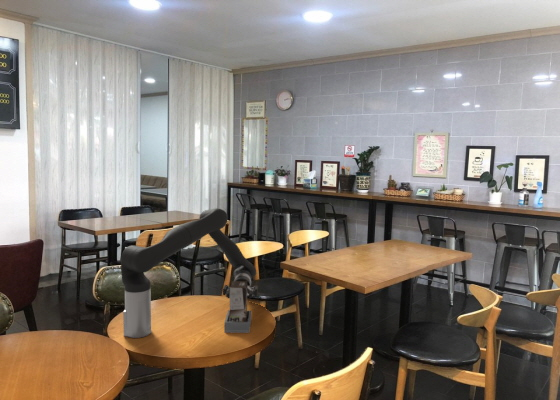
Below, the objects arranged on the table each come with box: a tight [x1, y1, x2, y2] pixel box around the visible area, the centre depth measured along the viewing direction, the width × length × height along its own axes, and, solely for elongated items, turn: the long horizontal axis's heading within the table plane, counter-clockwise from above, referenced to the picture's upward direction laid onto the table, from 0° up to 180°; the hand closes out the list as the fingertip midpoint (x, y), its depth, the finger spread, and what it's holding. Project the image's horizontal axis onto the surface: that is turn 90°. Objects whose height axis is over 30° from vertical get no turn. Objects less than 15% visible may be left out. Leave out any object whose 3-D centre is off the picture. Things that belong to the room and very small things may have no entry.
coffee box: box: [229, 280, 248, 322], centre depth 173 cm, size 9×6×16 cm
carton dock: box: [223, 309, 252, 334], centre depth 174 cm, size 10×13×4 cm
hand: (239, 296), depth 175 cm, fingers open, 8 cm apart
